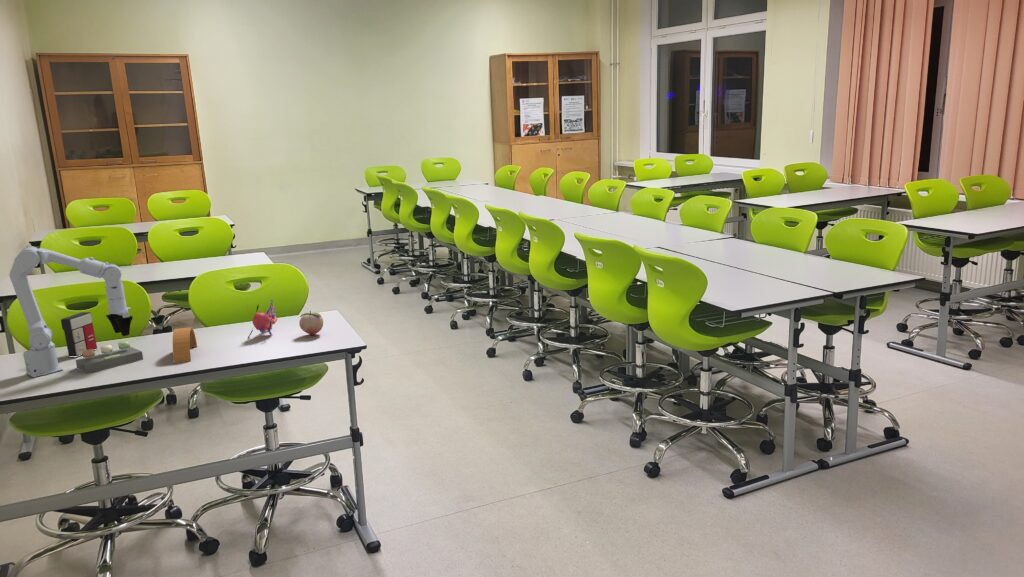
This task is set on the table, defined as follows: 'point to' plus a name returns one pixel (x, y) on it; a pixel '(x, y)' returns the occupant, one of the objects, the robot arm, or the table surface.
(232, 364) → the table surface
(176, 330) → the arch
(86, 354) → the terracotta button
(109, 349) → the cream button
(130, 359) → the button panel
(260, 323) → the heart model
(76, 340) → the grey and red box
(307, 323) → the decorative fruit
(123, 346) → the sage button
